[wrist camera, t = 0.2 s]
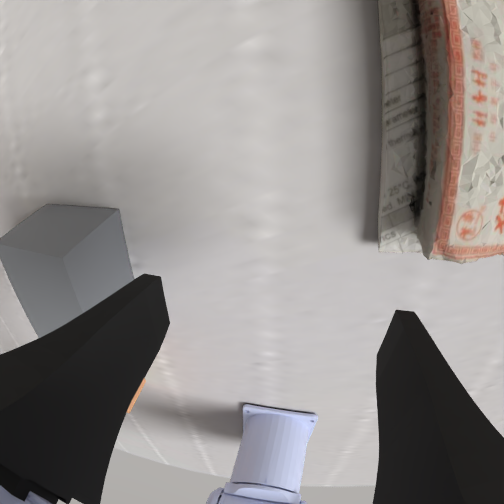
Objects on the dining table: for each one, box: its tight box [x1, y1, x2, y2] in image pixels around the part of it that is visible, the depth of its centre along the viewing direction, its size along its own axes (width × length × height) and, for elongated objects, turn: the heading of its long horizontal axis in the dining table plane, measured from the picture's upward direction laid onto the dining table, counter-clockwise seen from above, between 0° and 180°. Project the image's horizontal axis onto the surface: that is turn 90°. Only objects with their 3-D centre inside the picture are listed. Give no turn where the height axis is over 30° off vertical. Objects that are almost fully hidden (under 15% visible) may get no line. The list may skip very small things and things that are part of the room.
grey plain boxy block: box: [0, 204, 134, 338], centre depth 22 cm, size 11×8×6 cm
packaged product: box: [378, 0, 504, 264], centre depth 11 cm, size 18×5×10 cm
